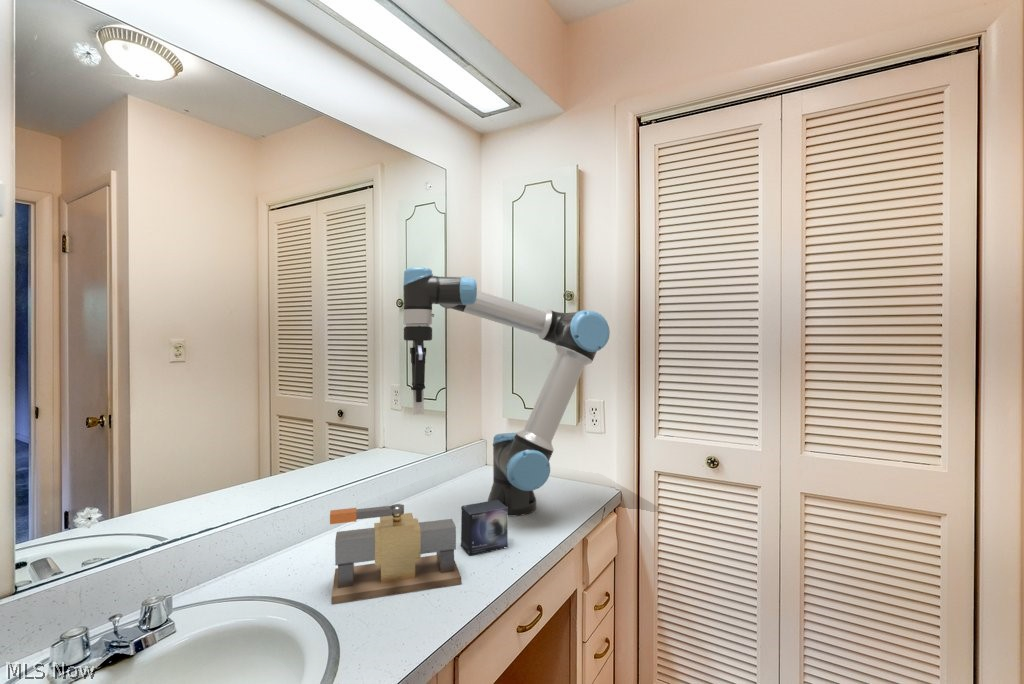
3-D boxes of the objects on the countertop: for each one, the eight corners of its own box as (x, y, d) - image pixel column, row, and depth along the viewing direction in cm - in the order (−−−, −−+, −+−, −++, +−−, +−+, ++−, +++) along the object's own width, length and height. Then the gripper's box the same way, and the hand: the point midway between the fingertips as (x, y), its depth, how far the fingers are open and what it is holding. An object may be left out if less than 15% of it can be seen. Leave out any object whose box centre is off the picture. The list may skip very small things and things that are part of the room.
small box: (469, 557, 114) (469, 513, 114) (459, 546, 120) (459, 505, 120) (508, 548, 119) (508, 506, 119) (497, 538, 125) (497, 498, 125)
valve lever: (403, 511, 105) (403, 502, 105) (404, 516, 102) (404, 506, 102) (330, 519, 100) (330, 510, 100) (329, 524, 98) (329, 515, 98)
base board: (451, 559, 113) (451, 552, 113) (461, 584, 101) (461, 577, 101) (335, 575, 105) (335, 568, 105) (331, 604, 94) (331, 596, 94)
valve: (451, 557, 110) (451, 503, 110) (456, 571, 104) (456, 514, 104) (337, 573, 103) (336, 515, 103) (335, 589, 96) (334, 528, 96)
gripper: (435, 325, 122) (435, 417, 122) (429, 326, 134) (429, 409, 135) (405, 325, 120) (405, 418, 120) (401, 326, 132) (402, 410, 132)
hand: (418, 413), depth 127 cm, fingers closed
